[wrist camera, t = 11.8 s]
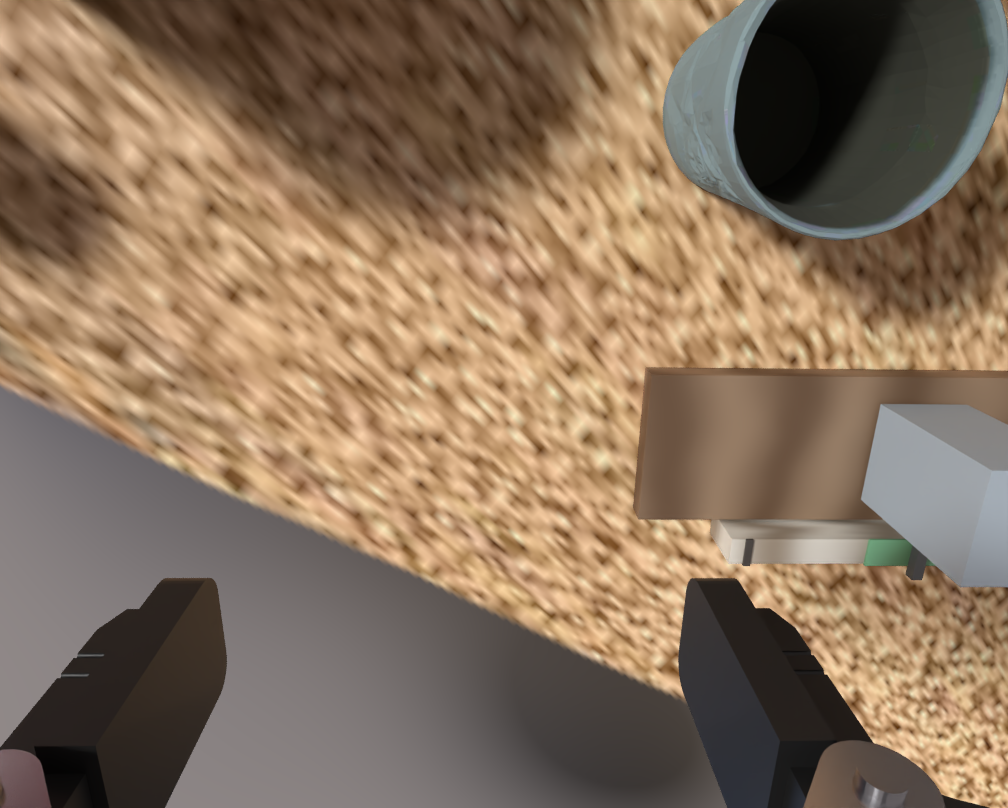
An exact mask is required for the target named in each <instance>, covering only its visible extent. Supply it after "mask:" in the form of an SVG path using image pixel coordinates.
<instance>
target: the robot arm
mask: <svg viewBox="0 0 1008 808" xmlns="http://www.w3.org/2000/svg"><path fill="white" fill-rule="evenodd" d="M678 662H679V676H680V682H681V686H682V690H683V693H684V696H685V699H686V701H687V704H688V706H689V709H690V712H691V714H692V717H693V719H694V722H695V725H696V727H697V730H698V732H699V735H700V738H701V740H702V743H703V745H704V748H705V751H706V753H707V756H708V759H709V761H710V764H711V766H712V769H713V772H714V774H715V777H716V779H717V782H718V785H719V787H720V790H721V792H722V795H723V798H724V800H725V803H726V805H727V808H989V807H985V806H980V805H976V804H972V803H968V802H964V801H960V800H957V799H953V798H950V797H947V796H944V795H941V793H940V791H939V789H938V788H937V786H936V785H935V783H934V782H933V781H932V780H931V778H930V777H929V776H928V775H927V774H926V773H925V772H924V771H923V770H922V769H921V768H919V767H918V766H917V765H916V764H914V763H913V762H912V761H910V760H909V759H907V758H906V757H904V756H902V755H901V754H899V753H897V752H895V751H893V750H891V749H889V748H886V747H883V746H881V745H878V744H874V743H873V742H872V740H871V739H870V737H869V736H868V734H867V733H866V731H865V730H864V728H863V727H862V726H861V724H860V723H859V721H858V720H857V718H856V717H855V715H854V714H853V712H852V711H851V709H850V708H849V706H848V705H847V703H846V702H845V700H844V699H843V698H842V696H841V695H840V693H839V692H838V690H837V689H836V687H835V686H834V684H833V683H832V681H831V680H830V678H829V677H828V675H824V670H823V668H822V667H821V665H820V664H819V662H818V661H817V659H816V658H815V656H814V655H811V650H810V649H809V647H808V646H807V645H806V643H805V642H804V640H803V639H802V637H801V636H800V634H799V633H798V631H797V630H796V628H795V627H793V626H792V625H791V624H789V623H788V622H787V621H786V620H784V619H783V618H782V617H780V616H779V615H778V614H776V613H775V612H774V611H772V610H771V609H770V608H755V607H754V605H753V603H752V602H751V600H750V599H749V597H748V595H747V594H746V592H745V591H744V589H743V587H742V586H741V584H740V583H739V581H738V580H737V579H735V578H692V579H690V581H689V583H688V585H687V590H686V598H685V606H684V614H683V622H682V630H681V638H680V647H679V658H678ZM226 667H227V655H226V647H225V640H224V632H223V625H222V618H221V610H220V603H219V595H218V589H217V585H216V583H215V581H214V580H213V579H212V578H165V579H163V580H162V581H161V582H160V583H159V584H158V585H157V586H156V588H155V589H154V590H153V592H152V593H151V594H150V596H149V597H148V598H147V599H146V601H145V602H144V603H143V605H142V606H141V607H140V609H127V610H125V611H124V612H122V613H121V614H119V615H118V616H116V617H115V618H114V619H112V620H111V621H109V622H108V623H106V624H105V625H103V626H102V627H100V628H99V629H98V630H97V631H96V632H95V633H94V634H93V635H92V637H91V638H90V639H89V641H88V642H87V643H86V644H85V645H84V646H83V648H82V649H81V650H80V651H79V653H78V656H77V658H73V660H72V661H71V662H70V663H69V665H68V666H67V667H66V668H65V670H64V671H63V672H62V673H61V678H57V679H56V680H55V682H54V683H53V684H52V685H51V687H50V688H49V689H48V690H47V691H46V693H45V694H44V695H43V696H42V697H41V699H40V700H39V701H38V702H37V704H36V705H35V706H34V707H33V708H32V710H31V711H30V712H29V713H28V715H27V716H26V717H25V718H24V719H23V720H22V722H21V723H20V724H19V725H18V727H17V728H16V729H15V730H14V731H13V733H12V734H11V735H10V737H9V738H8V739H7V740H6V741H5V742H4V744H3V745H2V746H1V747H0V808H165V806H166V804H167V802H168V800H169V798H170V796H171V794H172V792H173V790H174V788H175V786H176V784H177V782H178V780H179V778H180V776H181V774H182V772H183V770H184V768H185V765H186V764H187V761H188V759H189V757H190V755H191V753H192V751H193V749H194V747H195V745H196V743H197V741H198V739H199V737H200V735H201V733H202V731H203V729H204V727H205V725H206V723H207V721H208V719H209V717H210V714H211V713H212V710H213V708H214V706H215V704H216V702H217V700H218V698H219V696H220V694H221V691H222V688H223V685H224V680H225V675H226Z"/></svg>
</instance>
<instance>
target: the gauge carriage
mask: <svg viewBox="0 0 1008 808" xmlns="http://www.w3.org/2000/svg"><path fill="white" fill-rule="evenodd" d="M861 500H862V501H863V502H864V503H865V504H866V505H868V506H869V507H870V508H871V509H872V510H873V511H874V512H876V513H877V514H878V515H879V516H880V517H881V518H882V519H883V520H885V521H886V522H887V523H888V524H889V525H890V526H891V527H893V528H894V529H895V530H896V531H897V532H898V533H899V534H900V535H902V536H903V537H904V538H905V539H906V540H907V541H908V542H910V543H911V544H912V545H913V546H912V550H911V554H910V558H909V562H908V566H907V570H906V575H907V576H908V577H909V578H910V579H911V580H922V578H923V574H924V570H925V566H926V562H927V558H928V559H929V560H930V561H931V562H932V563H933V564H935V565H936V566H937V567H938V568H939V569H940V570H941V571H942V572H944V573H945V574H946V575H947V576H948V577H949V578H950V579H952V580H953V581H954V582H955V583H956V584H957V585H958V586H959V587H1008V425H1007V424H1005V423H1003V422H1001V421H999V420H997V419H995V418H993V417H991V416H989V415H987V414H985V413H983V412H981V411H979V410H977V409H975V408H973V407H971V406H969V405H944V404H881V405H880V410H879V415H878V420H877V424H876V429H875V434H874V439H873V444H872V448H871V453H870V458H869V463H868V468H867V472H866V477H865V482H864V487H863V492H862V496H861Z"/></svg>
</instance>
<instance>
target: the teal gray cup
mask: <svg viewBox="0 0 1008 808" xmlns="http://www.w3.org/2000/svg"><path fill="white" fill-rule="evenodd" d="M1007 76H1008V28H1007V20H1006V17H1005V13H1004V9H1003V5H1002V3H1001V0H744V1H743V2H742V3H741V4H740V5H739V6H737V7H736V8H735V9H734V10H733V11H732V12H731V14H730V15H729V16H727V17H725V18H723V19H722V20H720V21H719V22H717V23H716V24H715V25H713V26H712V27H711V28H710V29H708V30H707V31H706V32H705V33H703V34H702V35H701V36H700V37H699V38H698V39H697V40H696V41H695V42H694V43H693V44H692V45H691V46H690V47H689V48H688V49H687V50H686V51H685V53H684V54H683V55H682V57H681V59H680V60H679V62H678V63H677V65H676V67H675V69H674V71H673V73H672V75H671V77H670V80H669V83H668V86H667V89H666V93H665V99H664V105H663V128H664V135H665V139H666V143H667V146H668V149H669V151H670V154H671V156H672V158H673V160H674V161H675V163H676V164H677V166H678V167H679V169H680V170H681V171H682V172H683V173H684V174H685V176H686V177H687V178H688V179H689V180H691V181H692V182H693V183H695V184H696V185H698V186H699V187H701V188H703V189H704V190H706V191H708V192H711V193H713V194H716V195H718V196H721V197H723V198H725V199H728V200H730V201H732V202H735V203H737V204H740V205H742V206H744V207H746V208H748V209H750V210H754V211H755V212H757V213H759V214H761V215H763V216H765V217H767V218H769V219H771V220H773V221H775V222H776V223H778V224H780V225H782V226H784V227H786V228H788V229H791V230H793V231H795V232H798V233H801V234H804V235H807V236H811V237H815V238H821V239H829V240H847V239H860V238H864V237H868V236H872V235H876V234H879V233H882V232H885V231H888V230H890V229H893V228H896V227H898V226H900V225H901V224H903V223H905V222H907V221H909V220H911V219H913V218H915V217H916V216H918V215H920V214H921V213H923V212H924V211H925V210H927V209H928V208H929V207H931V206H932V205H933V204H934V203H936V202H937V201H938V200H940V199H941V198H942V197H944V196H945V195H946V194H947V193H948V192H949V191H950V190H951V188H952V187H953V186H954V185H955V184H956V183H957V182H958V181H959V180H960V178H961V177H962V176H963V175H964V174H965V173H966V172H967V171H968V169H969V168H970V166H971V165H972V163H973V162H974V160H975V158H976V157H977V155H978V154H979V152H980V151H981V149H982V147H983V145H984V143H985V140H986V138H987V136H988V134H989V132H990V129H991V127H992V125H993V123H994V121H995V118H996V116H997V114H998V112H999V110H1000V107H1001V103H1002V98H1003V94H1004V89H1005V85H1006V81H1007Z"/></svg>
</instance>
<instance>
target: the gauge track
mask: <svg viewBox="0 0 1008 808" xmlns="http://www.w3.org/2000/svg"><path fill="white" fill-rule="evenodd" d="M881 404H944V405H969V406H971V407H973V408H975V409H977V410H979V411H981V412H983V413H985V414H987V415H989V416H991V417H993V418H995V419H997V420H999V421H1001V422H1003V423H1005V424H1007V425H1008V371H967V370H860V369H753V368H646V370H645V381H644V392H643V404H642V415H641V426H640V437H639V448H638V460H637V471H636V482H635V493H634V504H633V508H634V510H635V513H636V515H637V517H638V519H712V520H711V528H710V535H711V536H712V538H713V539H714V541H715V543H716V544H717V546H718V547H719V549H720V551H721V552H722V554H723V555H724V557H725V559H726V560H727V562H728V563H729V564H742V565H743V566H750V564H864V565H865V566H908V562H909V558H910V554H911V550H912V546H913V545H912V544H911V543H910V542H908V541H907V540H906V539H905V538H904V537H903V536H902V535H900V534H899V533H898V532H897V531H896V530H895V529H894V528H893V527H891V526H890V525H889V524H888V523H887V522H886V521H885V520H883V519H882V518H881V517H880V516H879V515H878V514H877V513H876V512H874V511H873V510H872V509H871V508H870V507H869V506H868V505H866V504H865V503H864V502H863V501H862V500H861V496H862V492H863V487H864V482H865V477H866V472H867V468H868V463H869V458H870V453H871V448H872V444H873V439H874V434H875V429H876V424H877V420H878V415H879V410H880V405H881ZM926 566H936V565H935V564H933V563H932V562H931V561H930V560H929V559H928V558H927V562H926Z"/></svg>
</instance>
